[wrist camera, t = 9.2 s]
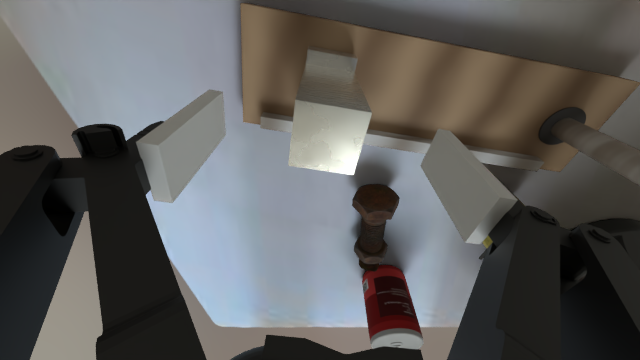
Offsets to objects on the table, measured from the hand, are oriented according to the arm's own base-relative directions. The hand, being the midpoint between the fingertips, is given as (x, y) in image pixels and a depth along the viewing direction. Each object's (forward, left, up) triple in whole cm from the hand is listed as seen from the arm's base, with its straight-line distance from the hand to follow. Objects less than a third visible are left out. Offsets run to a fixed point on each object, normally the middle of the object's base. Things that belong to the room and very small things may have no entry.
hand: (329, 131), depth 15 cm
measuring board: (-10, 0, -12) cm, 15 cm away
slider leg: (0, 0, -9) cm, 9 cm away
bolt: (-10, +19, -12) cm, 25 cm away
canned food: (-16, +32, -12) cm, 38 cm away
